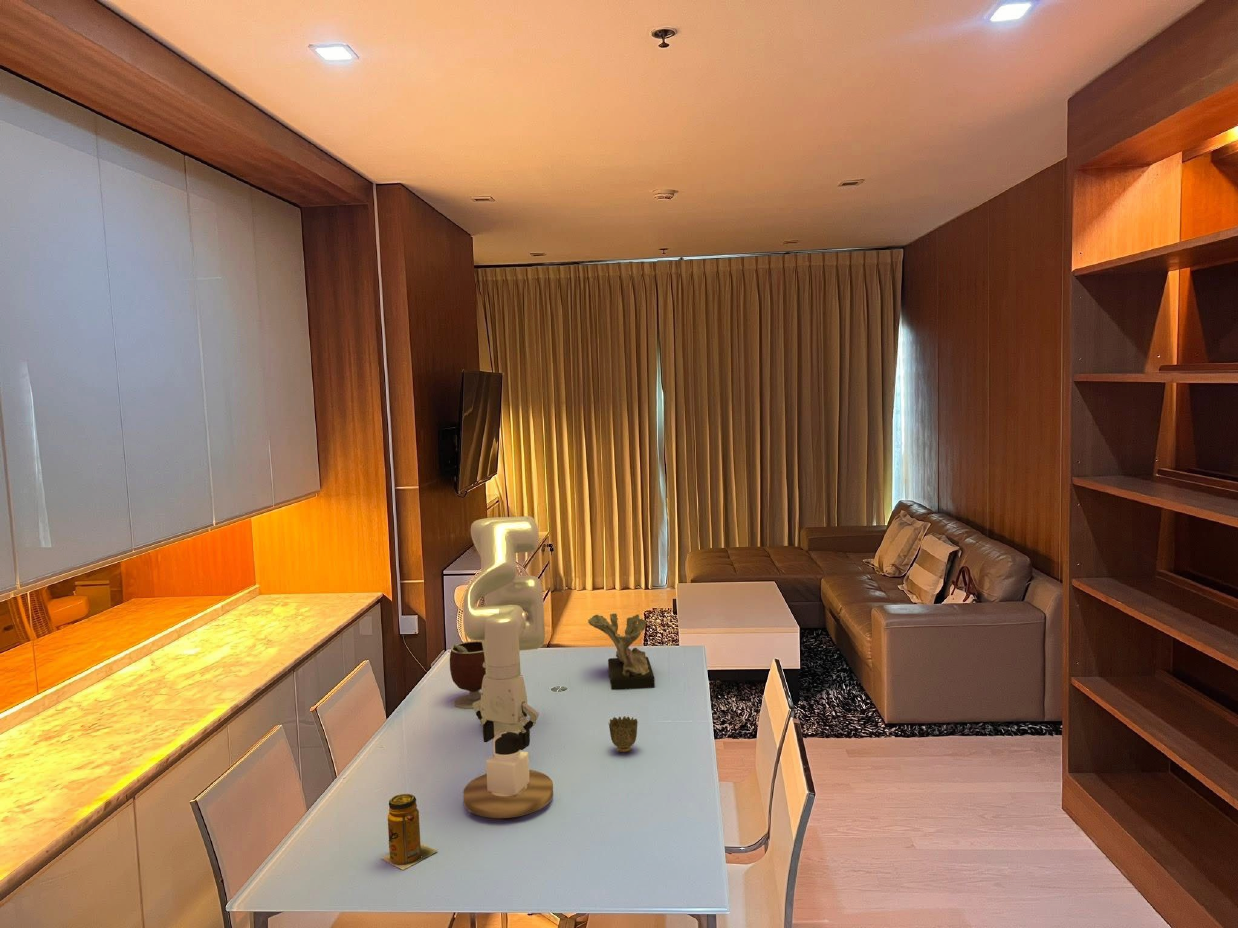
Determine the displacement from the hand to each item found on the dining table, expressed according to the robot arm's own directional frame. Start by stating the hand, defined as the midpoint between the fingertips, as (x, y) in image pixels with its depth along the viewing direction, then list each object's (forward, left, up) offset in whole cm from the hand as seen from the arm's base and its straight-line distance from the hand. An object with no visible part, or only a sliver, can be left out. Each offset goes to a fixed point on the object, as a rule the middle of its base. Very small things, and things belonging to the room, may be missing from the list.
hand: (506, 743), depth 188 cm
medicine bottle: (0, 0, -10) cm, 10 cm away
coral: (-16, +85, -14) cm, 87 cm away
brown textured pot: (+11, +35, -13) cm, 39 cm away
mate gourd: (-48, +49, -13) cm, 69 cm away
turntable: (0, 0, -12) cm, 12 cm away
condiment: (-5, -27, -14) cm, 31 cm away
